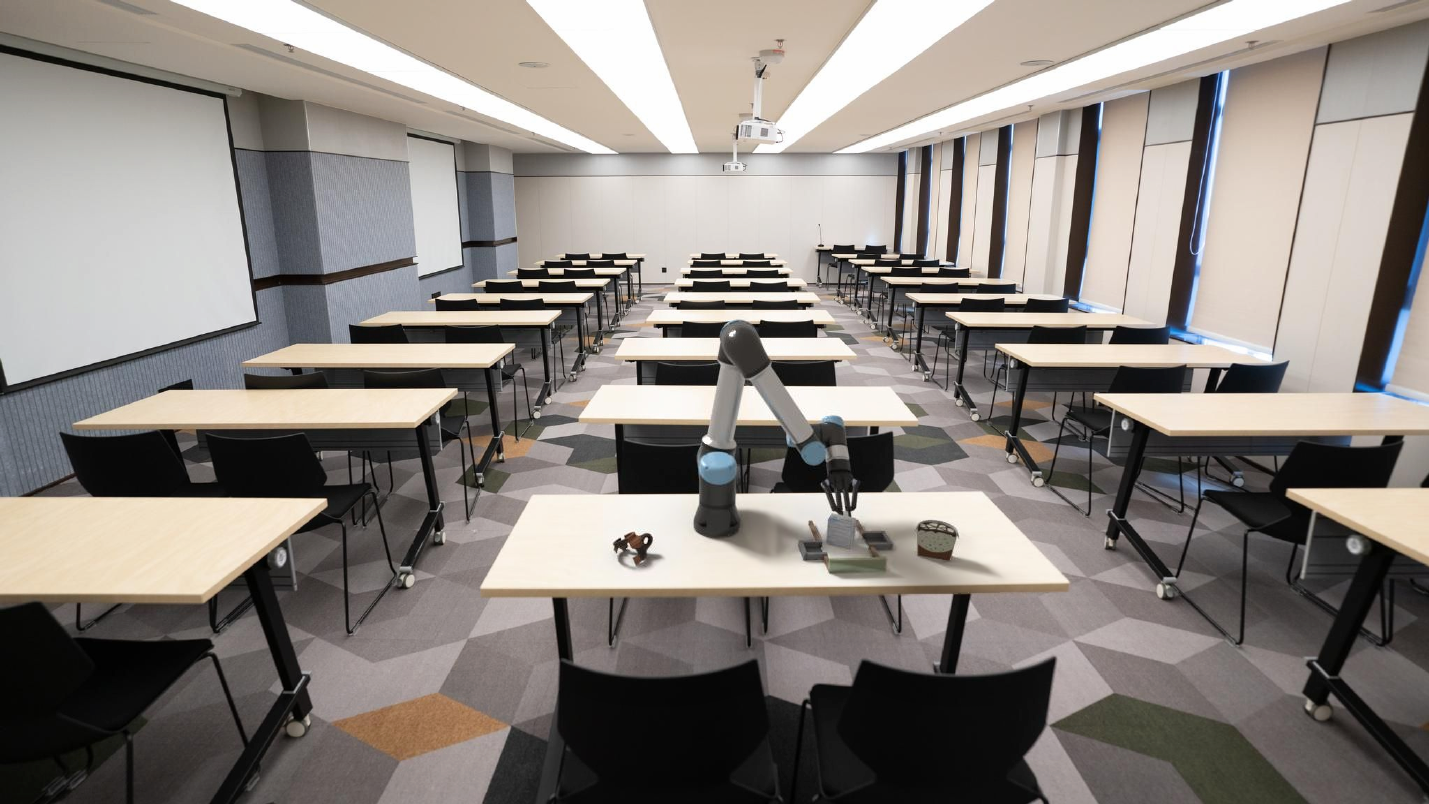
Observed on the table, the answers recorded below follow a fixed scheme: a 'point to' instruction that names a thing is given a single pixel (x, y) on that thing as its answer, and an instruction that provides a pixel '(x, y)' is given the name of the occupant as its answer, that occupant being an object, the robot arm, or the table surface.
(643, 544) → the brown looped part
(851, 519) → the medicine box
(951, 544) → the food container
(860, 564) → the walnut lane
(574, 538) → the table surface
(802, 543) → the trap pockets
